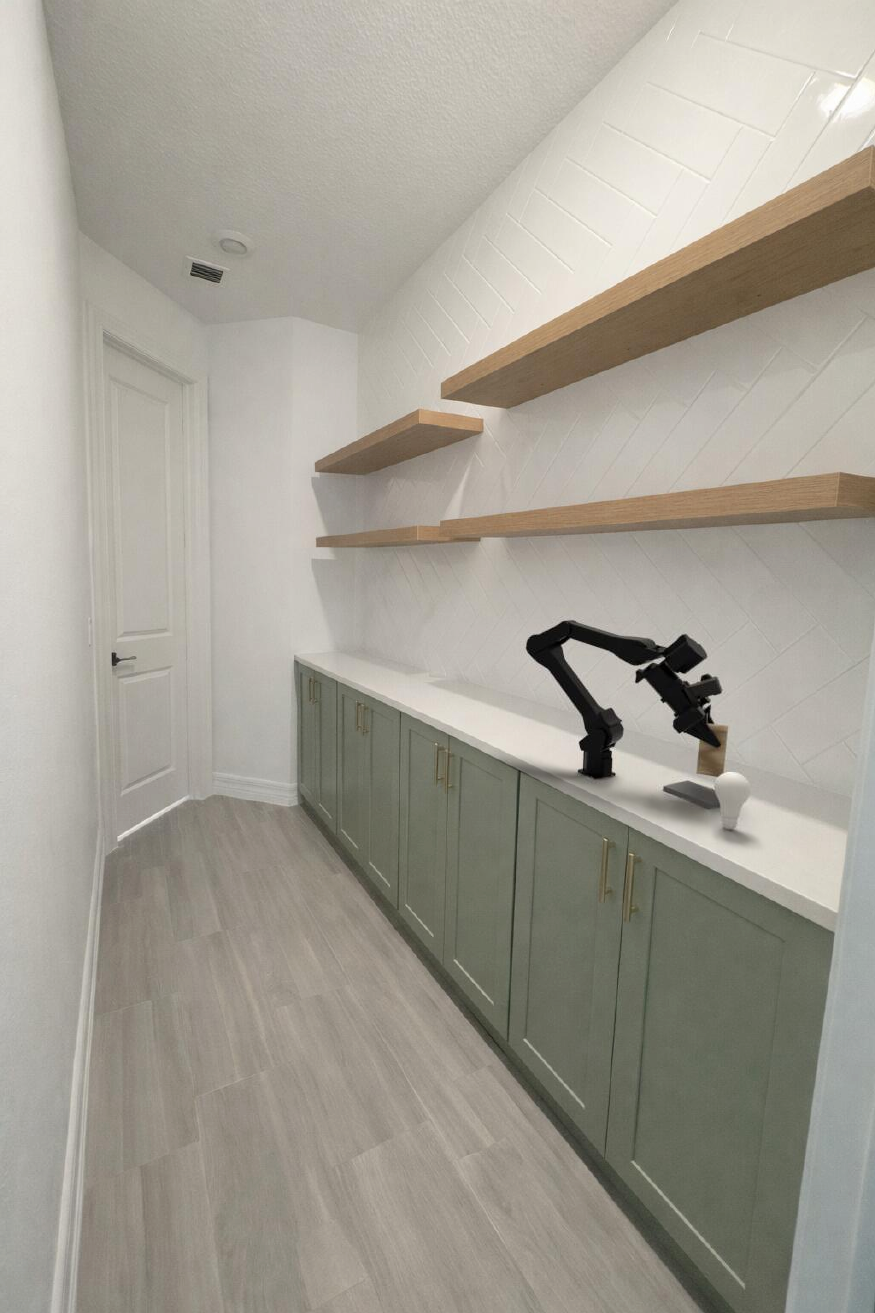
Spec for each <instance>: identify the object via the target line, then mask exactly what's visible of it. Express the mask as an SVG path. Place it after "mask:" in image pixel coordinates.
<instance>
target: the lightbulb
mask: <svg viewBox="0 0 875 1313" xmlns="http://www.w3.org/2000/svg"><path fill="white" fill-rule="evenodd" d="M713 790H715V793H716V796H717V798H718V800H719V802H720V814H721V825H722V827H724V828H725V829H727V830H733V829H735V828H737V826H738V819H739V817H740V813H741V810H742V807H743V806H744V804H745V803H747V801H748V800H749V797H750V796H751V784H750V782H749V781H748V779H747V778H746V777H745V776H744V775H742V774H740V773H739V772H736V771H728V772H726V771H725V772H723V774H721V775H720V776H719V777H716V779H715V780H714V784H713Z"/></svg>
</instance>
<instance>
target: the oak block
mask: <svg viewBox="0 0 875 1313" xmlns="http://www.w3.org/2000/svg"><path fill="white" fill-rule="evenodd" d="M708 725H709V726H710V728H711V729H712V731H713V732H714V734H715V735H716V737H717V739H718V740H719V742H720V743H721V746H720V747H718V748H716V747H714V746H712V745H710V744H708V743H706V742H704V741H702V740H700V739H699V741H698V742H699V743H698V753H697V763H696V774H697V775H703V776H709V777H713V778H718V777H719V776H720V775H721V774H723V773H725V763H726V762H725V761H726V754H727V751H726V750H727V744H728V743H727V742H728V733H729V726H728V725H722V724H709V723H708Z"/></svg>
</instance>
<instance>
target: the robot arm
mask: <svg viewBox="0 0 875 1313" xmlns="http://www.w3.org/2000/svg"><path fill="white" fill-rule="evenodd" d="M569 640H574V641H578V642H580V643H583V644H586V645H589V646H592V647H595V648H598V649H602V650H605V651H607V652H609V653H611V654H613V655H615V657H617V658H618V659H620V660H621V661H623V662H625V663H627V664H629V665H631V666H635V667H637V666H643V665H645V664H648V665H647V666H646V667H645V668H642V669H640V668H639V669H636V670H635V680H634V683H635V684H639V683H640V682H642V681H643V680H645V681H646V683H648V684H649V686H650V687H651V688H652V689H653V690H654V691H655V692H656V693H657V695H658V696H659V697H660V698H659V699H660V701H661V703H662V704H664V703H665V704H666V705H667V706H668V708H670V709H671V711H673V717H674V719H673V720H672V728H673V729H674V730H675V731H676V733H677V734H681V733H683V734H687V735H690V736H691V737H694V738H696V739H698V740H699V741H700V740H702V741H704V742H706V743H708V744H710V745H712V746H714V747H716V748H718V747H720V746H721V743H720V742H719V740H718V739H717V737H716V735H715V734H714V732H713V731H712V729H711V728H710V726H709V725H708V723H709V724H715V722H714V719H713V718H712V716H711V711H712V704H710V703H711V701H712V700H711V698H710V697H711V696H717V695H720V694H722V693H723V687H722V685H721V683H720V679H719V678H718V676H716V675H715V676H712V675H711V674H710V673H704V674H701V676H700V681H696V682H695V683H692V684H691V683H690V682H689V681H688V680H685V679H684V680H683V679H682V678H680V676H679V674H680V673H681V674H683V675H686V674H687V673H689V672H690V671H692V670H693V669H695V667H697V666H698V665H700V664H701V663H702V662H703V661H705V660H706V659H707V658H708V654H707V651H706V650H705V648H704V647H703V646H702V645H701V644H700V643H698V642H697V641H695V639H693V638H691V637H689V635H688V634H687V633H682V634H681V635H680V636H678V637H677V638H676V640H675V641H674V642H672V643H671V644H670V645H668V646H667V647H666V646H663V645H659V644H656V642H655V641H654V640H653V639H652V638H649V637H641V636H633V635H632V636H631V635H630V636H629V635H619V634H616V633H612V632H610V631H607V630H603V629H601V628H597V627H593V626H590V625H587V624H584V623H580V622H579V621H577V620H574V619H567V620H562V621H560V622H559V623H558V624H557V625H555V626H553V627H551V628H549V629H546V630H544V631H542V632H541V633H537V634H532V635H530V636H529V637H528V638H527V640H526V644H525V650H526V653H527V654H528V655H529V656H530V657H531V658H532V659H533V660H534V661H535V662H536V663H537V664H539V665H540V666H542V667H544V668H545V669H547V671H549V673H550V674H551V675H552V677H553V678H554V680H555V681H556V682H557V684H558V685H559V686H560V688H561V689H562V691H563V692H564V693H565V695H566V696H567V697H568V699H569V700H570V702H571V703H572V705H573V706H574V707H575V709H576V710H577V711H578V713H579V714H580V715H581V717H582V721H583V722H582V723H583V727H584V731H585V732H586V734H587V735H585V736H584V737H583V738H581V740H579V741H578V745H579V750H580V751H582V752H583V755H582V768H579V769H577V772H578V773H580V774H583V775H585V776H587V777H589V778H591V779H594V780H599V779H605V778H609V777H613V776H616V775H617V774H616V772H613V759H614V758H613V750H611V749H612V748H615V746H616V744H617V742H619V741H620V740H621V739H622V738H623V736H624V730H625V728H624V725H623V724H622V722H623V720H622V719H620V717H619V716H618V715H617V713H616V712H615V710H614V709H613V708H612V707H609V708H606V709H605V708H604V707H602V706H600V705H599V704H598V702H597V701H596V699H595V698H594V697H593V695H592V694H591V693H590V691H589V690H588V689H587V687H586V686H585V685H584V683H583V682H582V681H581V679H580V678H579V676H578V675H577V674H576V673H575V671H574V670H573V669H572V668H573V667H571V665H570V664H569V663H568V661H567V660H566V658H565V654H564V649H563V645H564V644H566V643H567V642H568V641H569ZM662 658H664V659H663V660H662V661H660V662H658V663H656V662H654V661H656V660H659V659H662ZM649 663H650V664H649ZM706 704H709V705H708V706H706V707H705V705H706Z"/></svg>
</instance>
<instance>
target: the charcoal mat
mask: <svg viewBox="0 0 875 1313" xmlns="http://www.w3.org/2000/svg"><path fill="white" fill-rule="evenodd" d="M662 790H663V791H664V792H667V793H669V794H671V795H673V796H675V797H676V796H677V797H679V798H681V799H685V800H686V801H689V802H692V803H695V804H697V805H700V806H702V807H704V808H708V809H710V810H712V809H715V808H721V806H720V802H719V800H718V798H717V796H716V793H715V790H714V788H709V787H707V786H704V785H703V784H699V783H696V782H693V781H691V780H683V781H678V782H675V783H671V784H666V785H663V789H662Z"/></svg>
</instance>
